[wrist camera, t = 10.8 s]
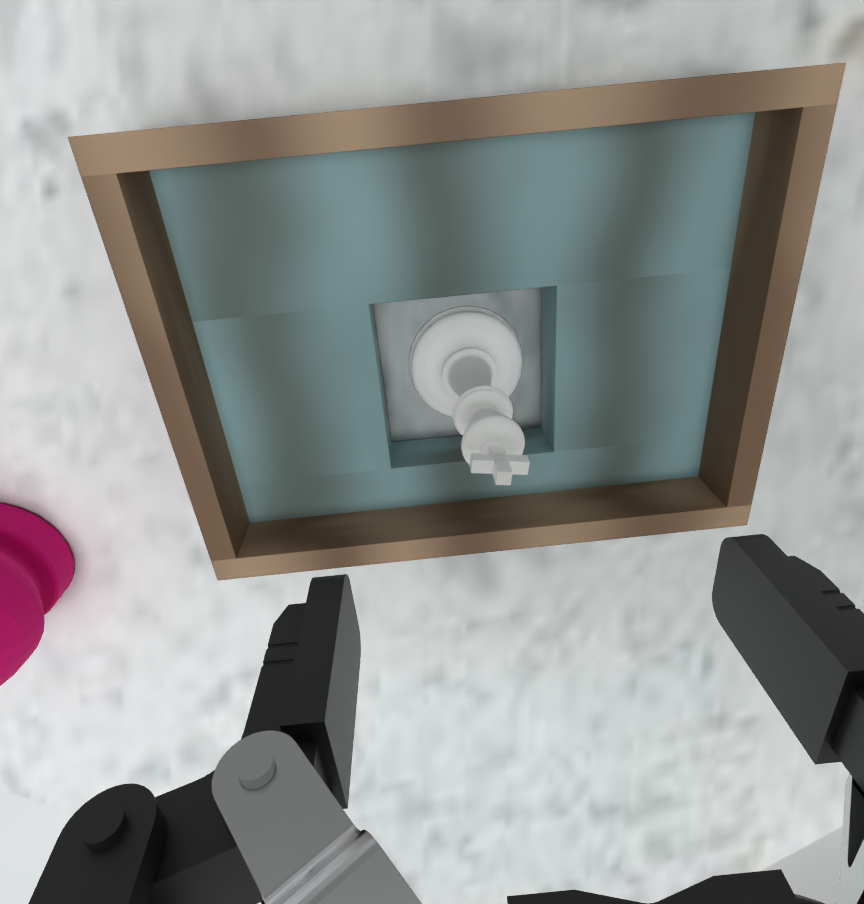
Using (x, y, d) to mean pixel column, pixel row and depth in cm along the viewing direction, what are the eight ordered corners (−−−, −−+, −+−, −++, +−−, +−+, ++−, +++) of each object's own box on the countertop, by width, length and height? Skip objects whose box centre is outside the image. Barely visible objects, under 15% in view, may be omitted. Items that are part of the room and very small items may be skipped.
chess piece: (411, 302, 24) (422, 393, 15) (529, 309, 24) (607, 401, 15) (406, 411, 26) (412, 547, 17) (513, 416, 26) (573, 550, 17)
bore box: (748, 81, 21) (845, 62, 16) (691, 466, 28) (747, 524, 24) (138, 140, 20) (67, 136, 16) (245, 512, 28) (217, 580, 23)
